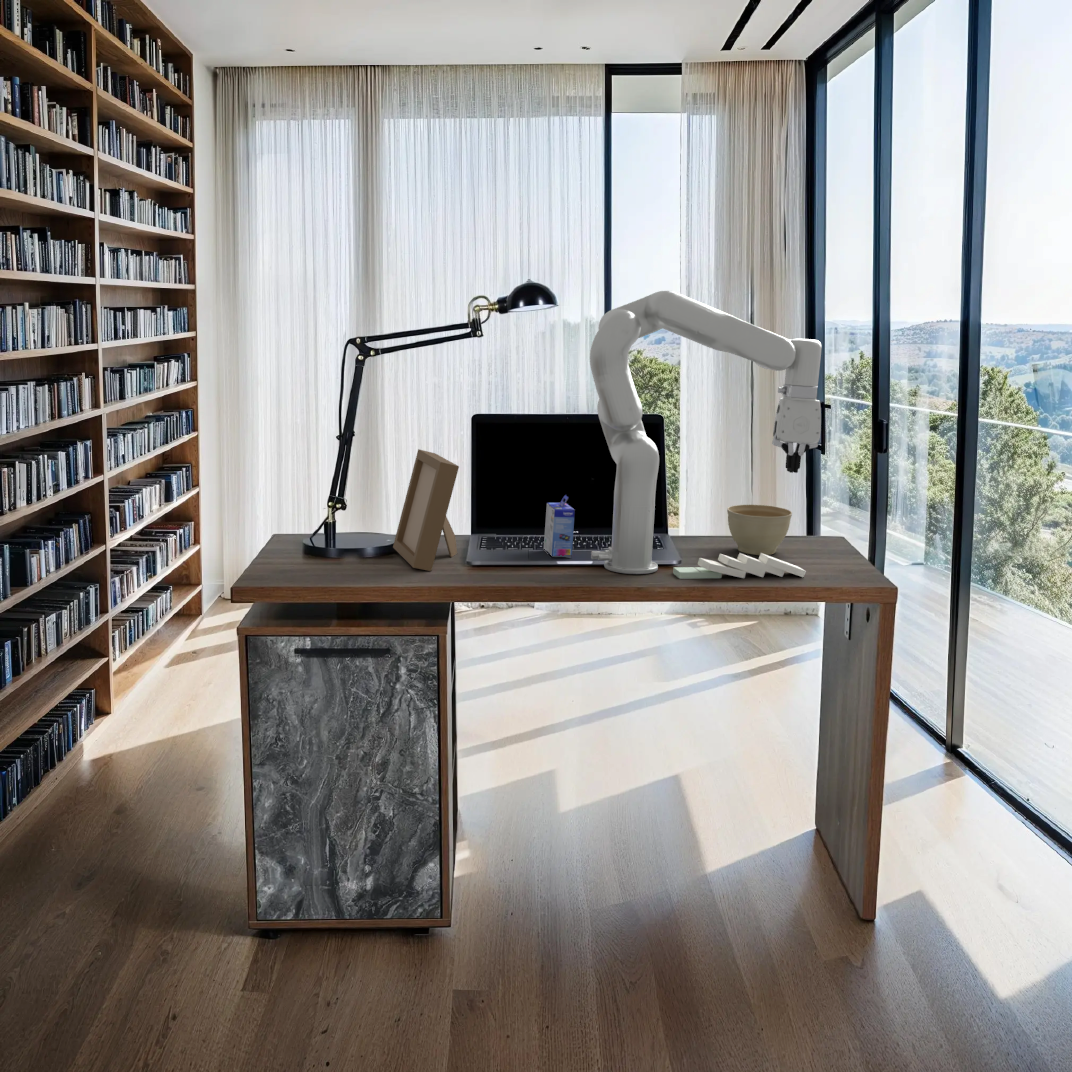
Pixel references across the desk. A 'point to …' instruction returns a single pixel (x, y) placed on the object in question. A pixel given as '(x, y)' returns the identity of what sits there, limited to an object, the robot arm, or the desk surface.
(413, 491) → the photo frame
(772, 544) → the planter bowl
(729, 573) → the domino
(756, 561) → the domino
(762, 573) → the domino
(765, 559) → the domino
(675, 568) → the domino
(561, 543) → the ink cartridge box
